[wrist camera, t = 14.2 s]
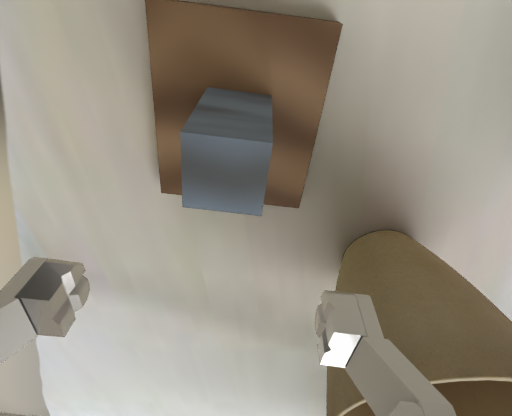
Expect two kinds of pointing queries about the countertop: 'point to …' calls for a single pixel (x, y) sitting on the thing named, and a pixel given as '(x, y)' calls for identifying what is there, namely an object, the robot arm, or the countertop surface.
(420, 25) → the countertop surface
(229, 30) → the walnut board
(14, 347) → the robot arm
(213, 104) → the slate-blue block
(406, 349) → the plant pot
